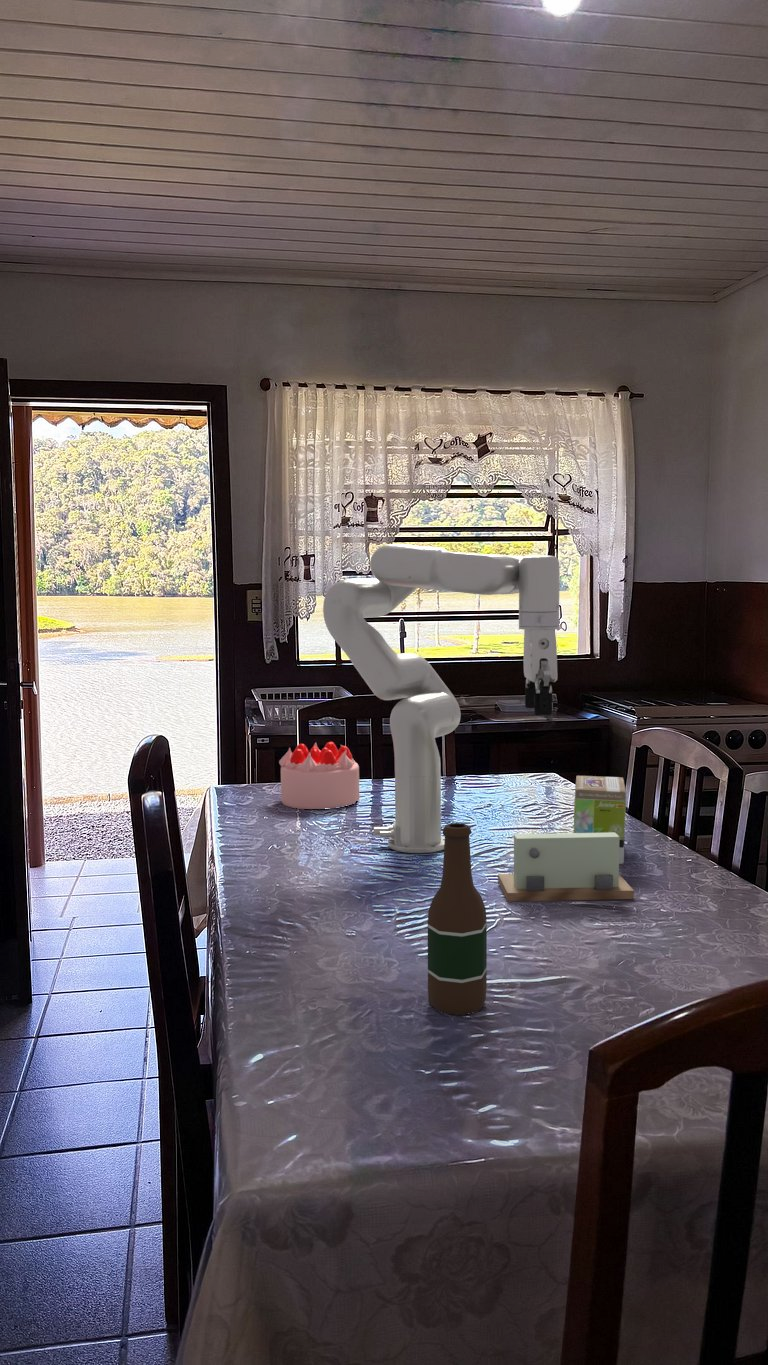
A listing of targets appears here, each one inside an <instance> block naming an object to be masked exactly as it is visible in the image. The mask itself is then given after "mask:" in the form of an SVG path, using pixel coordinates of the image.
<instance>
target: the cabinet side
mask: <svg viewBox="0 0 768 1365" xmlns="http://www.w3.org/2000/svg"><path fill="white" fill-rule="evenodd" d="M497 879H498V880H497V882H498V884H499V887H500V889H501V890H502V894H503V895H504V897H505V900H506V901H507V902H547V901H548V902H551V901H552V902H553V901H556V902H558V901H596V900H597V901H598V900H600V901H601V900H603V901H604V900H634V897H635V896H634V895H635V890H634V889H633V888H632V887H631V886H630V885H629V883H628V882H627V881H626V880H625V879H624V878H623V877H622V876H621V875H620V874H619V887H613V890H595V887H591V888H544V891H530V892H527V891H526V889H516V887H515V885H514V873H498V874H497Z"/></svg>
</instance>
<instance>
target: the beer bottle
mask: <svg viewBox="0 0 768 1365" xmlns="http://www.w3.org/2000/svg"><path fill="white" fill-rule="evenodd" d="M472 833H473V832H472V829H471V826H470V825H469V824H465V823H462V822H453V823H448V824H445V826H443V830H442V832H441V835H442V836H443V835H444V837H445V843H444V849H443V863H442V877H441V883H440V887H439V888H438V890H437V891H436V893H435V895H434V896H433V897H432V900H431V902H430V904H429V905H430V906H429V909H428V912H427V914H428V915H427V994H428V995H427V997H428V1004H429V1005H430V1006H431V1007H432V1006H433V1007H434V1009H435V1010H436V1009H437V1010H438V1011H437V1010H436V1011H437V1012H439V1011H440V1012H442V1013H441V1014H444V1013H449V1014H448V1015H452V1014H457V1015H456V1016H459V1015H463V1016H465V1015H464V1014H467V1015H469V1014H468V1013H471V1014H473V1013H472V1012H475V1013H478V1012H477V1011H479V1012H481V1010H482V1007H483V1006H484V1004H485V1002H486V1000H487V986H488V985H487V981H488V980H487V977H488V976H487V975H488V974H487V963H488V962H487V958H488V956H487V954H488V953H487V951H488V950H487V948H488V946H487V944H488V942H487V939H488V938H487V935H488V934H487V933H488V931H487V929H488V926H487V924H488V922H487V909H486V906H485V903H484V900H483V896H482V895H481V894H480V893H479V891H478V890H477V889H476V887H475V885H474V884H475V883H474V881H473V880H474V878H473V874H472V863H471V862H472V860H471V845H470V843H471V842H470V835H471V834H472ZM433 1007H432V1008H433ZM440 1012H439V1013H440Z"/></svg>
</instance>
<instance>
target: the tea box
mask: <svg viewBox="0 0 768 1365" xmlns="http://www.w3.org/2000/svg"><path fill="white" fill-rule="evenodd" d="M574 785H575V786H574V788H575V789H574V802H573V803H574V804H573V805H574V807H573V833H609V832H615V833H616V834H617V835H618V836H619V865H623V864H624V862H625V834H626V831H625V830H626V807H627V806H626V805H627V803H626V802H627V791H626V790H627V789H626V785H625V780H624V777H620V776H596V775H594V776H593V775H576V778H575V784H574Z"/></svg>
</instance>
